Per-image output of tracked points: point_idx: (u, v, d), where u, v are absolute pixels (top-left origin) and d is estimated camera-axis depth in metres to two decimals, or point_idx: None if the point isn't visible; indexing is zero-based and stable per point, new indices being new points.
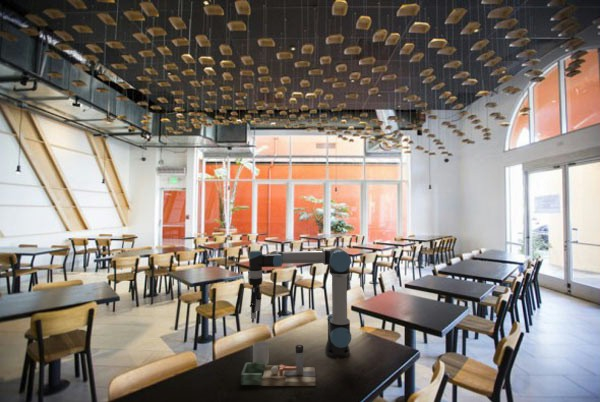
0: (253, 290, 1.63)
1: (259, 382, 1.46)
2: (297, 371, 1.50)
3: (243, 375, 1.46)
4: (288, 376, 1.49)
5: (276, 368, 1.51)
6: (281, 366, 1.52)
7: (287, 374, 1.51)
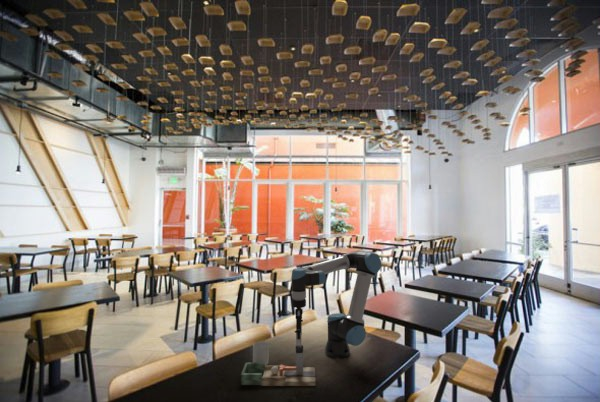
0: (298, 314, 1.47)
1: (259, 382, 1.46)
2: (297, 371, 1.50)
3: (243, 375, 1.46)
4: (288, 376, 1.49)
5: (276, 368, 1.51)
6: (281, 366, 1.52)
7: (287, 374, 1.51)
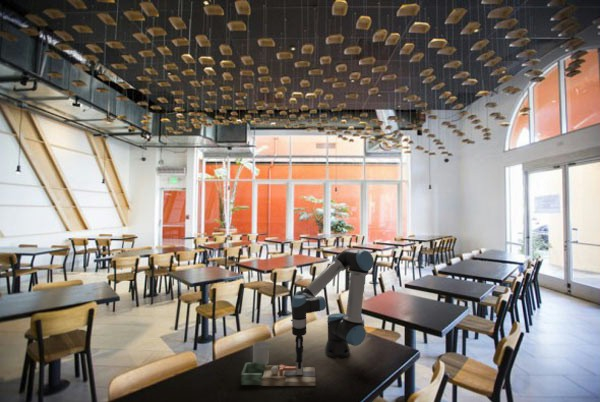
0: (299, 346, 1.46)
1: (259, 382, 1.46)
2: None
3: (243, 375, 1.46)
4: (288, 376, 1.49)
5: (276, 368, 1.51)
6: (281, 366, 1.52)
7: (287, 374, 1.51)
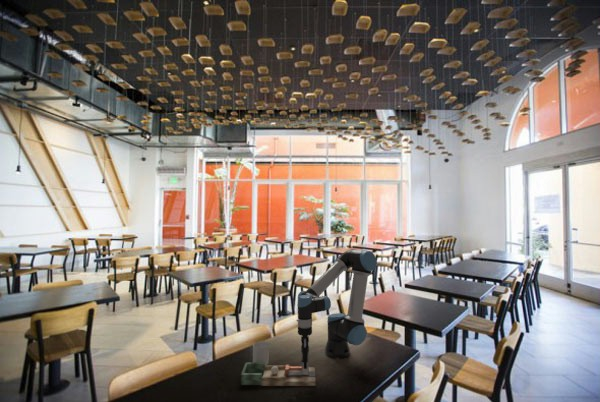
0: (304, 346, 1.46)
1: (259, 382, 1.46)
2: None
3: (243, 375, 1.46)
4: (288, 376, 1.49)
5: (276, 368, 1.51)
6: (287, 366, 1.52)
7: None
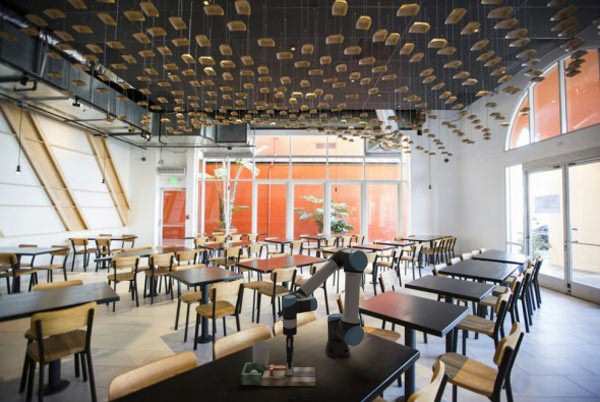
0: (289, 345, 1.46)
1: (259, 382, 1.46)
2: None
3: (243, 375, 1.46)
4: (288, 376, 1.49)
5: None
6: (271, 366, 1.52)
7: None
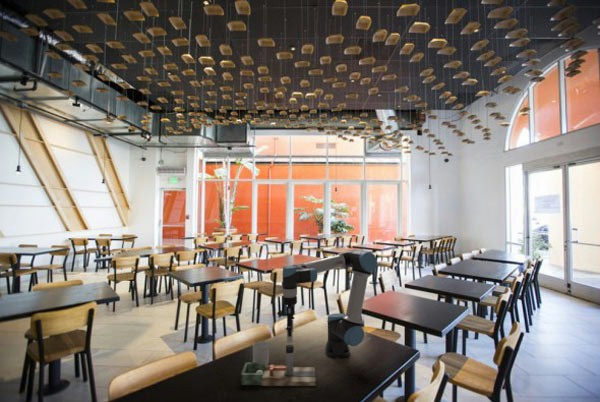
0: (289, 311, 1.47)
1: (259, 382, 1.46)
2: (287, 371, 1.50)
3: (243, 375, 1.46)
4: (288, 376, 1.49)
5: None
6: (271, 366, 1.52)
7: None
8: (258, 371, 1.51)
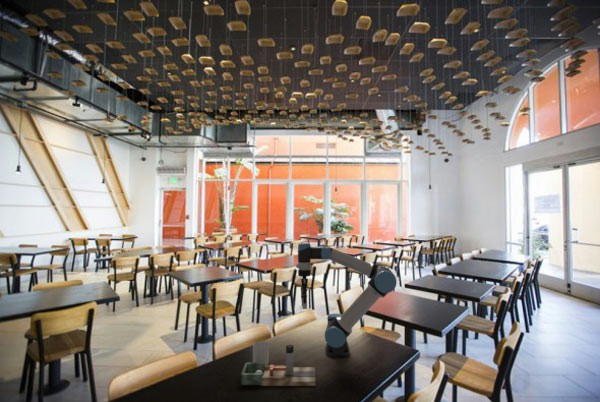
0: (304, 281, 1.67)
1: (259, 382, 1.46)
2: (287, 371, 1.50)
3: (243, 375, 1.46)
4: (288, 376, 1.49)
5: None
6: (271, 366, 1.52)
7: None
8: (257, 371, 1.51)
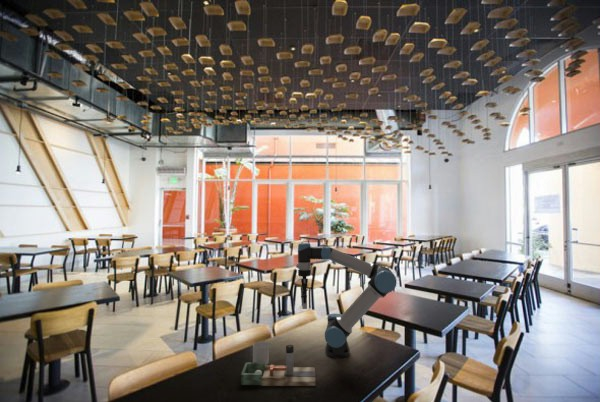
0: (304, 281, 1.67)
1: (259, 382, 1.46)
2: (287, 371, 1.50)
3: (243, 375, 1.46)
4: (288, 376, 1.49)
5: None
6: (271, 366, 1.52)
7: None
8: (256, 371, 1.51)
